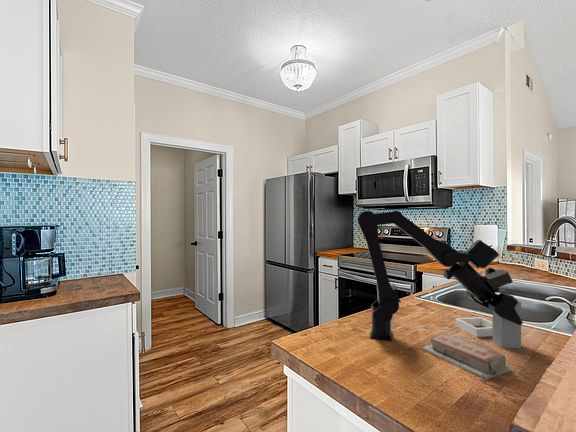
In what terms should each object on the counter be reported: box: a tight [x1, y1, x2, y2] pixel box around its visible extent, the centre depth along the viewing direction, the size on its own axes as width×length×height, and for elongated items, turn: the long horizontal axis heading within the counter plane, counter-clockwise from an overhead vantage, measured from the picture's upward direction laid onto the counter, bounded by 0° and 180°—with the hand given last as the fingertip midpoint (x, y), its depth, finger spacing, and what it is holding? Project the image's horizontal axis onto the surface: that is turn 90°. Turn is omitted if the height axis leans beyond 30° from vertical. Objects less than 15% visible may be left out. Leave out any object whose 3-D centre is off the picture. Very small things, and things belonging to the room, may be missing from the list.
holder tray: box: [455, 316, 493, 338], centre depth 99 cm, size 10×10×2 cm
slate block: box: [492, 300, 522, 349], centre depth 89 cm, size 5×5×13 cm
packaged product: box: [421, 331, 512, 381], centre depth 80 cm, size 18×5×10 cm
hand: (511, 318), depth 88 cm, fingers open, 9 cm apart
